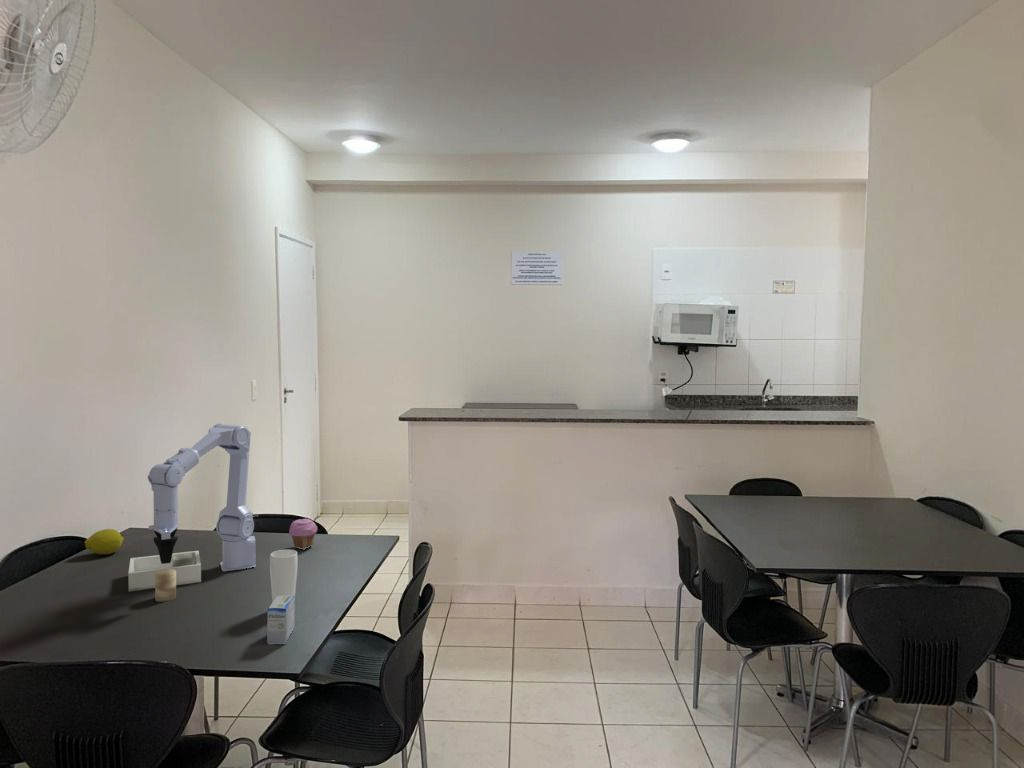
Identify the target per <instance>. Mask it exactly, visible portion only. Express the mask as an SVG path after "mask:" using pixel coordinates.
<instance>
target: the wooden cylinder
mask: <svg viewBox="0 0 1024 768" xmlns="http://www.w3.org/2000/svg"><path fill="white" fill-rule="evenodd" d="M154 598H155V602H158V603H159V602H160V603H162V602H163V603H164V602H170V601H173V600H175V599H176V598H177V585H176V570H173V569H166V570H161V571H158V572H156V573H155V588H154Z"/></svg>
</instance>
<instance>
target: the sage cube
mask: <svg viewBox="0 0 1024 768" xmlns="http://www.w3.org/2000/svg"><path fill="white" fill-rule="evenodd" d="M186 565H192V553H189V554H181V555H173V567H178V566H186Z"/></svg>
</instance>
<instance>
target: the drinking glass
mask: <svg viewBox="0 0 1024 768" xmlns="http://www.w3.org/2000/svg"><path fill="white" fill-rule="evenodd" d="M269 557H270V558H269V575H270V576H269V577H270V586H271V587H270V588H271V600H272V602H273V601H274V600H275V598H276V597H277V596H295V597H296V587H297V576H298V563H299V562H298V559H299V558H298V551H297V550H295V549H278V550H274V551H273V552H271V553H270V555H269Z"/></svg>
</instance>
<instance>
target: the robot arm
mask: <svg viewBox="0 0 1024 768" xmlns="http://www.w3.org/2000/svg"><path fill="white" fill-rule="evenodd" d="M251 435H252V433H251V431H250V430H249V429H248V427H247V426H245V425H242V424H241V425H236V424H235V425H233V424H222V423H216V424H214V425H213V426H212V427H210V428H209V429H208V433H207V434H206V435H205V436H204V437H202V438H201V439H200V440H199V441H198V442H196V443H195V444H194V445H193V446H192V447H184V448H180V449H178V452H176V454H174V455H173V456H171V457H169V458H167V459H166V461H164V462H163V463H156V464H155V465H153V467H151V469H150V471H149V473H148V475H147V481H148V482H149V484H150V485H151V490H152V492H153V524H152V525H148V530H149V531H151V530H153V532H154V534H155V536H156V537H153V543H154V545H155V546H156V548H157V550H158V555H159V556H160V560H161V563H162V564H166V563H170V562H171V559H172V554H173V551H174V548H175V545H176V544H177V541H178V539H179V536H175V535H176V533H177V531H178V528H179V522H178V521H179V517H178V516H179V515H178V514H179V513H178V512H179V507H178V505H179V504H178V498H179V497H178V496H179V495H178V494H179V493H178V492H179V490H178V487H179V485H180V484H181V483H182V481H183V479H184V477H185V476H186V473H188V472H189V471H191V470H192V469H194V468H195V467H196V466H197V465H198V464H199V462H200V458H201V457H202V456H204V455H206V454H207V453H209V452H210V451H212V450H213V449H214V448H216V447H219V448H222V449H224V450H225V451H226V452H227V454H229V469H228V478H227V479H228V481H227V482H228V483H227V493H226V494H227V495H226V506H225V507H224V508H223V509H221V510H220V511H219V514H218V519H217V522H216V524H215V530H216V532H217V534H218V535H219V536H220V539H222V543H221V544H222V561H221V562H220V563H219V565H220V568H221V571H222V572H229V571H237V570H245V569H246V568H247V569H253V568H252V567H254V568H256V567H257V566H256V565H257V564H256V562H257V561H256V559H257V553H256V550H257V549H256V537H255V535H252V534H253V532H254V529H255V523H254V518H253V517H254V513H253V512H252V511H251V509H249V508H248V507H247V503H246V502H247V490H248V488H247V487H248V475H249V461H250V449H251V448H250V447H251Z"/></svg>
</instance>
